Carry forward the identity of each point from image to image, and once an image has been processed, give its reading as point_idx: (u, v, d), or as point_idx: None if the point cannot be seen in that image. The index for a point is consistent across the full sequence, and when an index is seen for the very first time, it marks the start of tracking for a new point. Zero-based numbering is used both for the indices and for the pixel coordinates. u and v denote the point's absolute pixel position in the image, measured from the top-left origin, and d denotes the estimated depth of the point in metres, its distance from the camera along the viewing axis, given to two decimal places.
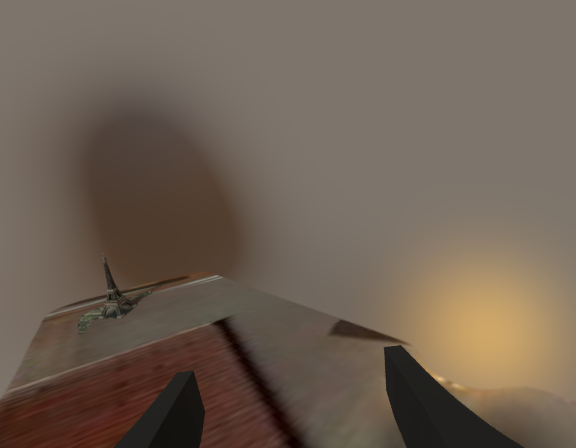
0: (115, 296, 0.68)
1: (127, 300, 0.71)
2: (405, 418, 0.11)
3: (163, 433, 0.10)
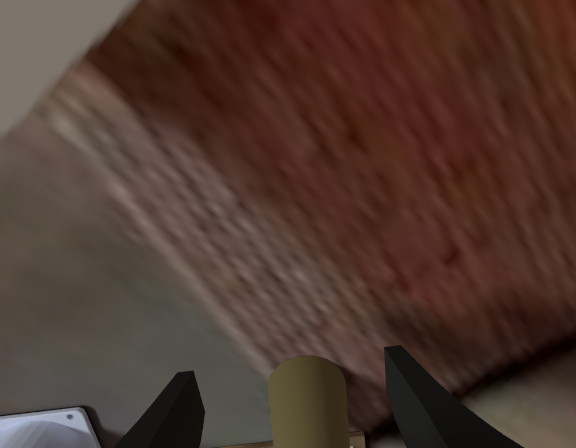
0: None
1: None
2: (405, 418, 0.11)
3: (163, 433, 0.10)
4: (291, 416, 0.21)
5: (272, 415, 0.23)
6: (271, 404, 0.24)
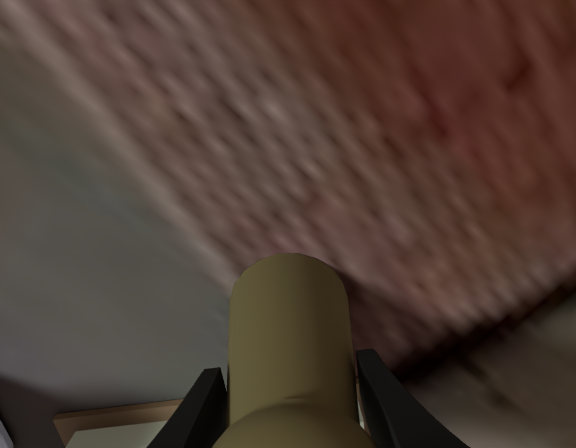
0: None
1: None
2: (373, 422, 0.11)
3: (197, 429, 0.10)
4: (257, 324, 0.13)
5: (230, 333, 0.14)
6: (230, 320, 0.15)
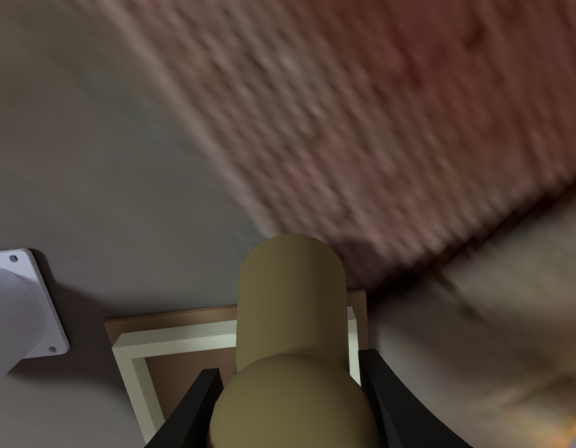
0: None
1: None
2: None
3: (195, 429, 0.10)
4: (261, 294, 0.14)
5: (238, 305, 0.16)
6: (238, 294, 0.17)
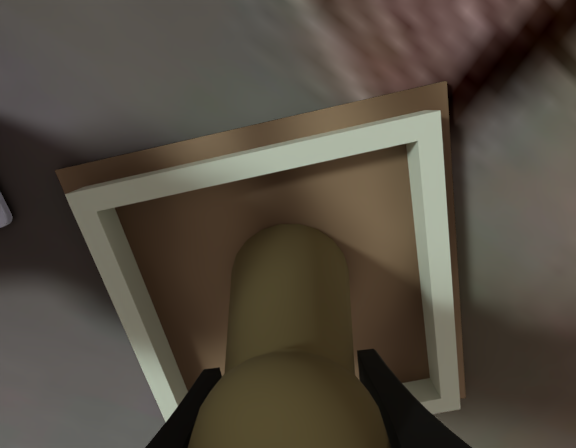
0: None
1: None
2: None
3: None
4: (257, 285, 0.13)
5: (231, 298, 0.15)
6: (232, 287, 0.15)
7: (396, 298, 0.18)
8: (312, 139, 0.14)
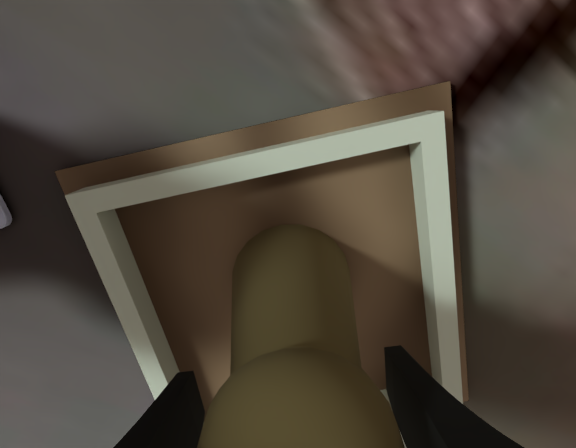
0: None
1: None
2: (405, 418, 0.11)
3: (163, 433, 0.10)
4: (261, 285, 0.13)
5: (233, 299, 0.14)
6: (233, 288, 0.15)
7: (398, 300, 0.18)
8: (314, 140, 0.14)
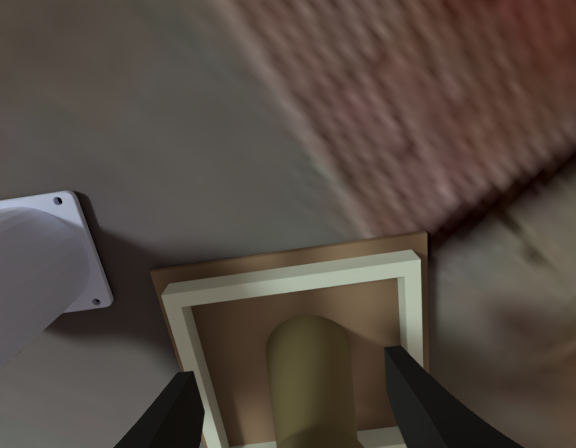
0: None
1: None
2: (405, 418, 0.11)
3: (163, 433, 0.10)
4: (294, 371, 0.20)
5: (271, 372, 0.21)
6: (270, 362, 0.22)
7: (383, 369, 0.25)
8: (334, 271, 0.21)
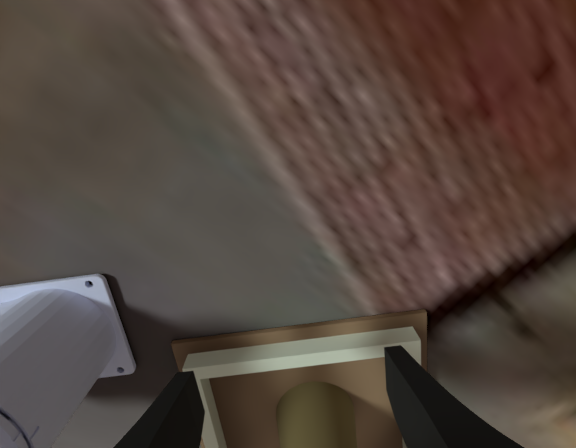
0: None
1: None
2: (405, 418, 0.11)
3: (163, 433, 0.10)
4: (305, 444, 0.21)
5: (283, 440, 0.23)
6: (282, 428, 0.24)
7: (385, 428, 0.27)
8: (341, 349, 0.23)
